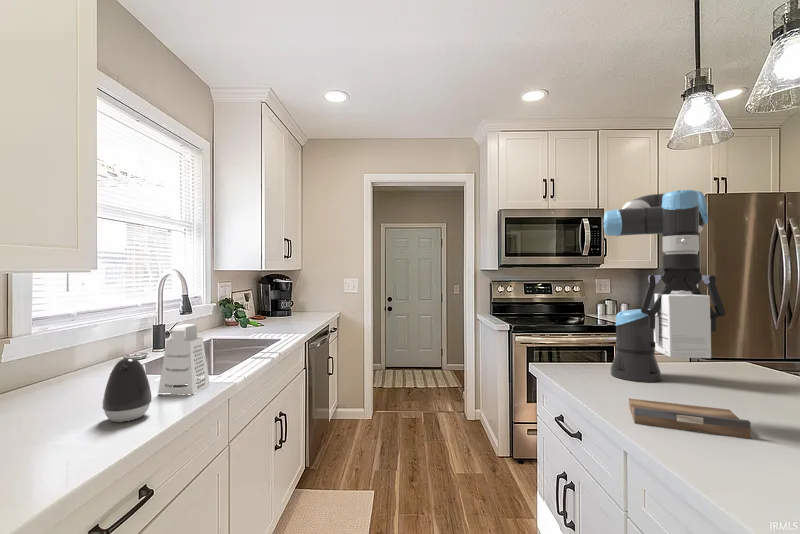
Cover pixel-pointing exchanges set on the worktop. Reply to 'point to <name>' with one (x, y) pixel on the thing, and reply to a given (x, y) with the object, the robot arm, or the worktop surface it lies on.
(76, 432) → the worktop surface
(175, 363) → the grater
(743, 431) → the shelf board
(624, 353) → the robot arm
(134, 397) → the black egg-shaped figure
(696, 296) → the supplement box
